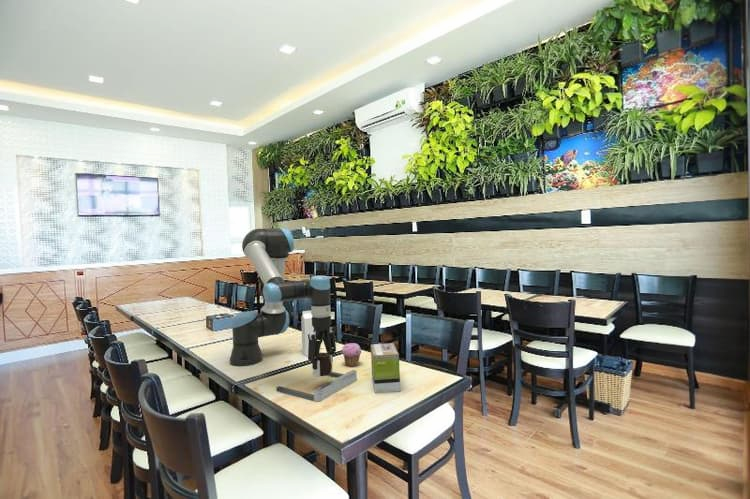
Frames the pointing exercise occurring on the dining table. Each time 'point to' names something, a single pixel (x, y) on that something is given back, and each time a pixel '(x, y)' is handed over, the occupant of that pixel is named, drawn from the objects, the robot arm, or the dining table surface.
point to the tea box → (385, 368)
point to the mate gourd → (325, 363)
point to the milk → (306, 330)
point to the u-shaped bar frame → (324, 386)
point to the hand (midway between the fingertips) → (323, 373)
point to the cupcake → (351, 353)
